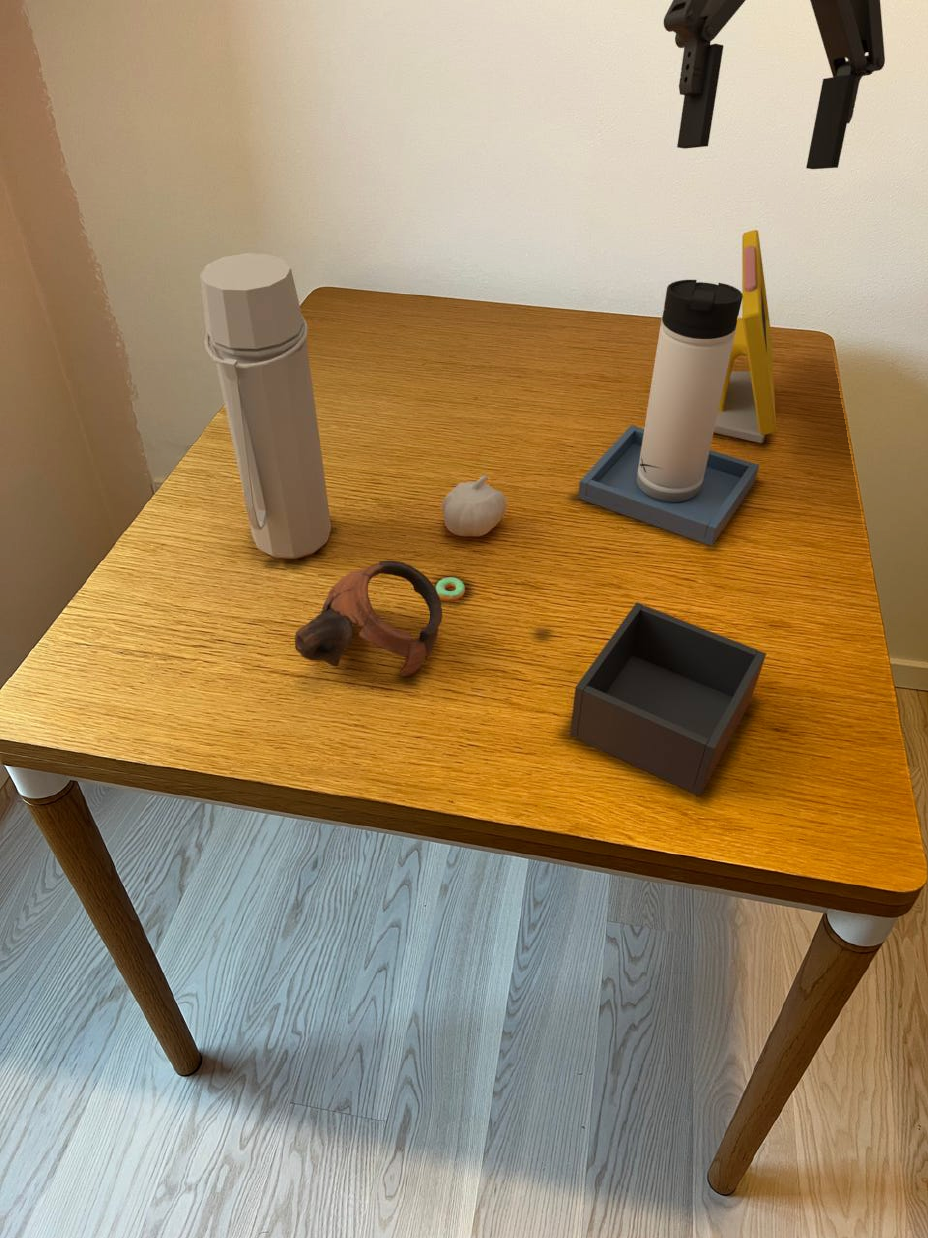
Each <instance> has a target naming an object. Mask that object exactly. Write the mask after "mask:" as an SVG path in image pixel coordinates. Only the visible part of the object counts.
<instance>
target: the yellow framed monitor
mask: <svg viewBox="0 0 928 1238" xmlns="http://www.w3.org/2000/svg"><path fill="white" fill-rule="evenodd" d="M741 240H742V241H741V277H742V278H741V293H742V296H743V297H742V302H741V317H737V328H736V332H735V337H734V341H733V346H732V351H731V355H730V360H729V364H728V369H727V373H726V378H725V383H724V387H723V392H722V396H721V401H720V405H719V410H718V415H717V419H716V424H715V428H714V433H713V434H717V435H721V436H725V437H731V438H735V439H740V440H744V441H749V442H753V443H757V444H763V443H764V441H765V437H766V435H770V434H775V433H776V432H777V418H776V397H775V377H774V359H773V358H774V357H773V355H774V354H773V338H772V330H771V329H772V328H771V322H770V313H769V305H768V298H767V297H768V296H767V291H766V290H767V289H766V282H765V281H766V280H765V274H764V267H763V265H764V264H763V257H762V249H761V242H760V234H759V230H757V229H754V230H750V231H747V232H743V234H742V236H741ZM742 356H745V357H746V356H747V360H748V367H749V370H748V371H747V370H742V371H741V370H740V371H739V370H738V371H737V370H736V371H734V370H733V367H734V361H735V360H736V359H737V358H738V357H742Z"/></svg>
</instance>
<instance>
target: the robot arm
mask: <svg viewBox="0 0 928 1238" xmlns="http://www.w3.org/2000/svg"><path fill="white" fill-rule="evenodd" d="M746 1H747V0H672V1H671V4H670V6H669V8H668V9H667V12H666V13H665V15H664V18H663V27H664V29H665V31H667V32H669V33H671V32H673V33H675V36H674V42H675V45H676V47H677V48H678V49H683V53H682V60H681V68H680V69H681V70H680V77H679V83H678V90H679V91H678V92H679V95H681V96H684V97H683V102H682V110H681V115H680V116H681V117H680V125H679V131H678V138H677V145H676V148H679V149H684V150H685V149H697V148H706V147H709V142H710V135H711V131H712V124H713V117H714V111H715V105H716V104H715V103H716V97H717V91H718V86H719V85H718V84H719V78H720V71H721V65H722V58H723V52H724V44H720V43H711V42H712V41H714V39H715V38H716V37H717V36H718V35H719V33H720V32H721V31H722V30H723V29H724V27H725V26H726V25H727V24H728V23H729V21H730V20H731V19H732V17H734V15H736V13H737V11H739V9H740V8H741V7H742V6H743V5H744V3H745V2H746ZM809 2H810V5H811V7H812V11H813V15H814V18H815V22H816V24H817V28H818V31H819V34H820V38H821V41H822V45H823V48H824V51H825V54H826V55H825V56H826V59H827V61H828V64H829V68H830V71H831V74H832V77H826V78H822V82H821V88H820V94H819V99H818V104H817V109H816V115H815V120H814V124H813V131H812V135H811V141H810V145H809V146H810V147H809V150H808V157H807V160H806V161H807V162H806V167H805V168H806V169H808V170H822V169H823V170H824V169H838V168H839V164H840V160H841V156H842V155H841V154H842V151H843V144H844V139H845V136H846V135H845V134H846V129H847V125H848V124H851V123H850V122H851V121H852V118H853V116H854V111H855V109H854V108H855V105H856V101H857V96H858V91H859V86H860V82H861V80H862V78H863V77H865V76H871V75H872V74H873V73H874V72H878V71H881V70H882V69H884V67H885V63H886V56H885V43H884V31H883V20H882V19H883V18H882V8H881V7H882V6H881V0H809ZM866 54H867V55H866Z"/></svg>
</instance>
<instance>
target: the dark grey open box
mask: <svg viewBox="0 0 928 1238" xmlns="http://www.w3.org/2000/svg"><path fill="white" fill-rule="evenodd" d="M766 656H767V653H766V652H764V651H761V650H758V649H756V648H753V647H751V646H748V645H746V644H743V643H741V642H738V641H737V640H733V639H730V638H729V637H726V636H723V635H721V634H718V633H716V632H713V631H711V630H708V629H706V628H703V627H701V626H698V625H695V624H693V623H690V622H688V621H684V619H683V620H682V619H680V618H677V617H675V616H672V615H669V614H667V613H664V612H662V611H660V610H657V609H654V608H652V607H650V606H647V605H644V604H642V603H639V602H636V603H635V604H634V605H633V607H632V608H631V609H630V611H629V612H628V614H627V615H626V616H625V618H624V619H623V621H622V622H621V623H620V624H619V626H618V627H617V629H616V630H615V632H614V633H613V635H612V636H611V637H610V638H609V640H608V641H607V642H606V644H605V645H604V646H603V648H602V650H601V651H600V652H599V654H598V655H597V657H595V659H594V661H593V662H592V663H591V664H590V666H589V668H588V669H587V670H586V672H584V674H583V676H582V677H581V679H580V680H579V682H578V683H577V684H576V686H575V690H574V698H573V705H572V714H571V722H570V730H569V736H570V737H572V738H574V739H576V740H579V741H581V742H582V743H585V744H586V745H589V746H591V747H594V748H595V749H597V750H599V751H602V752H604V753H606V754H607V755H611V756H612V757H614V758H617V759H619V760H621V761H623V762H625V763H626V764H630V765H632V766H634V767H636V768H638V769H641V770H642V771H643V772H647V773H649V774H651V775H653V776H655V777H658V778H660V779H662V780H664V781H666V782H668V783H670V784H672V785H674V786H677V787H679V788H681V789H683V790H684V791H687V792H689V793H691V794H693V795H696V796H698V797H701V796H702V795H703V793H704V791H705V789H706V787H707V785H708V783H709V782H710V779H711V778H712V776H713V774H714V772H715V770H716V768H717V766H718V764H719V763H720V761H721V758H722V757H723V755H724V753H725V751H726V749H727V747H728V745H729V744H730V742H731V740H732V738H733V736H734V734H735V732H736V730H737V729H738V727H739V725H740V723H741V721H742V720H743V717H744V715H745V713H746V712H747V709H748V708H749V706H750V704H751V702H752V699H753V696H754V692H755V689H756V686H757V684H758V680H759V677H760V675H761V671H762V668H763V666H764V663H765V660H766Z"/></svg>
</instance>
